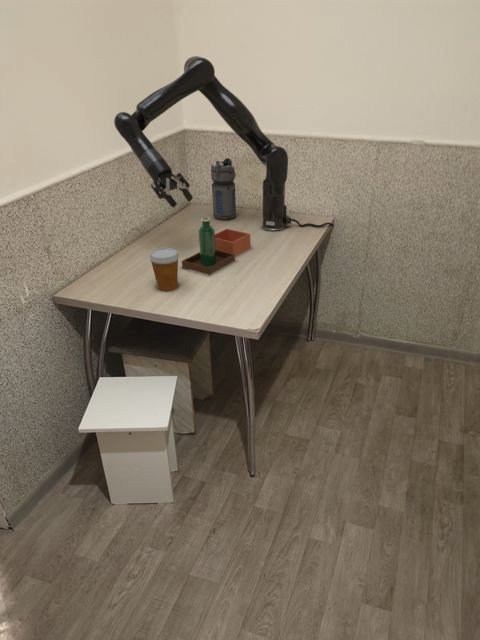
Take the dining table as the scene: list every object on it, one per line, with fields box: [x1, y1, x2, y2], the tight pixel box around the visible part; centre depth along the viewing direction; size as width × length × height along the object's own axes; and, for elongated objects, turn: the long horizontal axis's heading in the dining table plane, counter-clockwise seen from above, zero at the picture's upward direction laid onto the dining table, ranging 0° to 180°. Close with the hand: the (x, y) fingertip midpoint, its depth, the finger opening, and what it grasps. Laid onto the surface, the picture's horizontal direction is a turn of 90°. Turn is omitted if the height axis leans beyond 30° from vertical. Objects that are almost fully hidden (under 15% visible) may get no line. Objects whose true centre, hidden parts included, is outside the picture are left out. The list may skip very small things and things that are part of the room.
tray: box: [181, 250, 236, 277], centre depth 183 cm, size 15×12×3 cm
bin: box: [215, 228, 251, 257], centre depth 195 cm, size 11×11×6 cm
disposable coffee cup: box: [148, 247, 180, 292], centre depth 165 cm, size 10×10×12 cm
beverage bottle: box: [210, 157, 237, 221], centre depth 224 cm, size 10×13×25 cm
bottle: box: [197, 216, 216, 266], centre depth 180 cm, size 6×6×16 cm
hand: (183, 202), depth 179 cm, fingers open, 8 cm apart
